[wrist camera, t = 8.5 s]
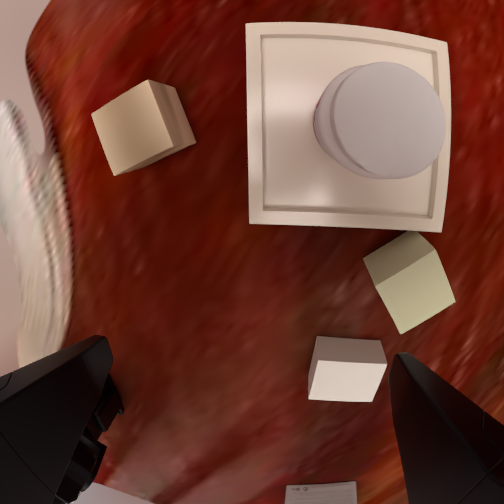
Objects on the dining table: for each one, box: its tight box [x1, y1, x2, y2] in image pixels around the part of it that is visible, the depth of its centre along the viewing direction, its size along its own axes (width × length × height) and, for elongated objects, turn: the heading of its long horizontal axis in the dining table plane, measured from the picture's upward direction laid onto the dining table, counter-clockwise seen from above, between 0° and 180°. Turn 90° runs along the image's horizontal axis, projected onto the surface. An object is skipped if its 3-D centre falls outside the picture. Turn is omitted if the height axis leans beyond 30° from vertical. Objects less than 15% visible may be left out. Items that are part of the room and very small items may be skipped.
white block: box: [308, 336, 387, 402], centre depth 22 cm, size 5×4×3 cm
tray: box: [246, 22, 451, 232], centre depth 16 cm, size 12×12×1 cm
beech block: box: [91, 80, 196, 176], centre depth 17 cm, size 4×4×4 cm
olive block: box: [363, 230, 455, 334], centre depth 18 cm, size 4×4×4 cm
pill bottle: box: [313, 62, 446, 179], centre depth 12 cm, size 5×5×8 cm
